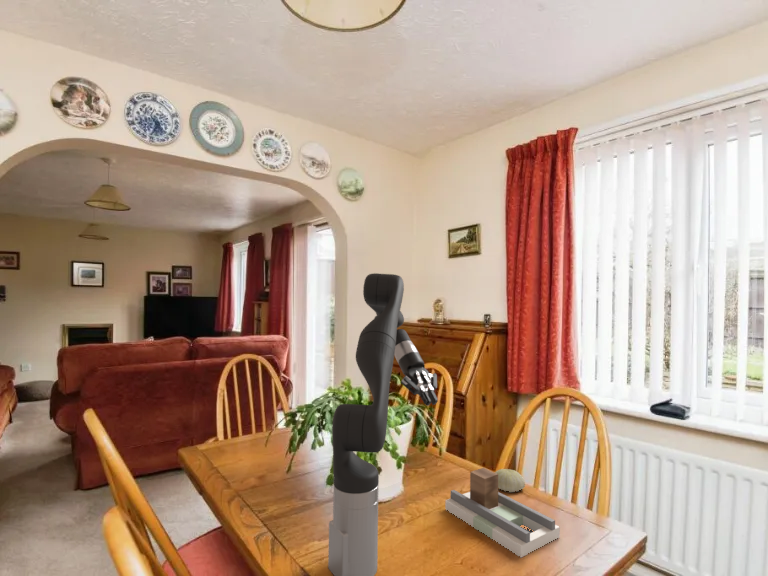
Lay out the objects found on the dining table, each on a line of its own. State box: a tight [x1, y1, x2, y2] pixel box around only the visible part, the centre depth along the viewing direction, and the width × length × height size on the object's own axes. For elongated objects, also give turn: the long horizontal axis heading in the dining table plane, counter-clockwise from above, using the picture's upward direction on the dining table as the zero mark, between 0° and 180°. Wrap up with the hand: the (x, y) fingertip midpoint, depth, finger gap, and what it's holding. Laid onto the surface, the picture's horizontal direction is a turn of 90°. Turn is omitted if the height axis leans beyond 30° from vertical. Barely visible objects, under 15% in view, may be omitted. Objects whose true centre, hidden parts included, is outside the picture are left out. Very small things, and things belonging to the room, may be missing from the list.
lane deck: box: [444, 489, 561, 558], centre depth 103 cm, size 14×24×4 cm, turn 34°
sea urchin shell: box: [494, 468, 526, 493], centre depth 123 cm, size 9×8×8 cm
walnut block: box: [469, 467, 499, 509], centre depth 107 cm, size 5×5×8 cm
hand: (432, 403), depth 125 cm, fingers closed
